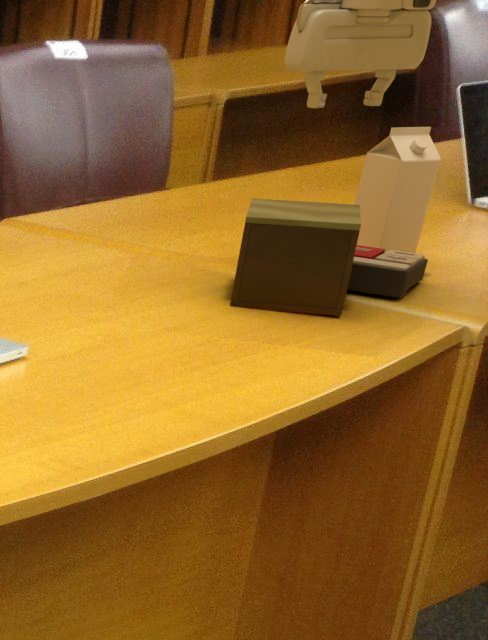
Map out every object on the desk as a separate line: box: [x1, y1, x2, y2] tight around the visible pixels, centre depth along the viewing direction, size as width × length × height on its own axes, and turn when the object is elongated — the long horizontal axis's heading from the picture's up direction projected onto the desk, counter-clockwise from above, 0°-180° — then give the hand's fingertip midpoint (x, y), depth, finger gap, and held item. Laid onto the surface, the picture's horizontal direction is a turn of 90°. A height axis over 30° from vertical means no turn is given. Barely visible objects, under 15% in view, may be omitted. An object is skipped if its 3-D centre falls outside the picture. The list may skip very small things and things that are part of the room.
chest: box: [229, 222, 360, 317], centre depth 204 cm, size 14×14×11 cm
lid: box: [244, 198, 361, 230], centre depth 202 cm, size 16×14×1 cm
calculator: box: [347, 245, 429, 299], centre depth 214 cm, size 11×4×15 cm
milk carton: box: [353, 126, 442, 254], centre depth 227 cm, size 7×7×19 cm
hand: (343, 106), depth 204 cm, fingers open, 8 cm apart
